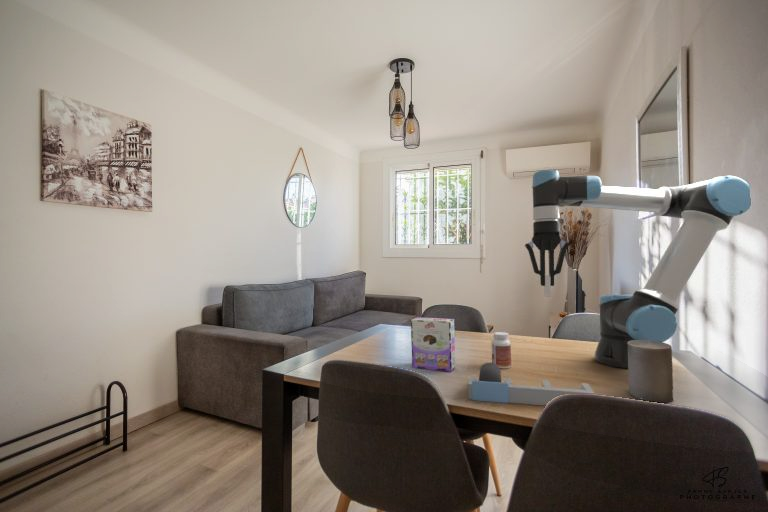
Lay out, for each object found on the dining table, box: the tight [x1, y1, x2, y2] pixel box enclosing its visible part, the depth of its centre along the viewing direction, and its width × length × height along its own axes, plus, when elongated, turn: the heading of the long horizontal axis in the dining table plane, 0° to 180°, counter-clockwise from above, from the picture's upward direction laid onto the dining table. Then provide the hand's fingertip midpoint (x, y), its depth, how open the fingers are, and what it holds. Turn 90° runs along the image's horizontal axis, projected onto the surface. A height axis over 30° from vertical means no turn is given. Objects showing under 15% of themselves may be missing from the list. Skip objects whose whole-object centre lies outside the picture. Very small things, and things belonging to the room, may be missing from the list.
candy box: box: [410, 316, 456, 372], centre depth 128 cm, size 14×6×16 cm, turn 65°
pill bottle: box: [491, 331, 512, 370], centre depth 127 cm, size 6×6×11 cm
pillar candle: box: [627, 339, 674, 403], centre depth 100 cm, size 10×10×15 cm
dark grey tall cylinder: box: [478, 362, 502, 383], centre depth 106 cm, size 12×6×6 cm, turn 164°
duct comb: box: [468, 375, 596, 406], centre depth 99 cm, size 30×7×5 cm, turn 74°
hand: (547, 296), depth 118 cm, fingers closed
